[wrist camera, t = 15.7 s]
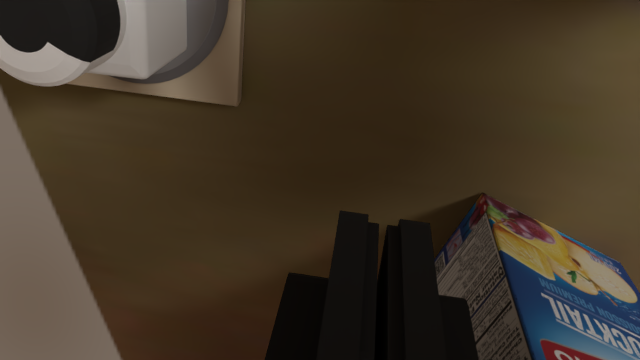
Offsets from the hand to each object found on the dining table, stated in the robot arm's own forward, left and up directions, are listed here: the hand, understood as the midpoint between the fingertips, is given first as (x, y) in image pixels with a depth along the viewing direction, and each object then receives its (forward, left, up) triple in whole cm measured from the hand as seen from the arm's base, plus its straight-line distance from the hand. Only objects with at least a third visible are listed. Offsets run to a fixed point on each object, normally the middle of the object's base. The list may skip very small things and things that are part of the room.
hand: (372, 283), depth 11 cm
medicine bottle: (+16, 0, -27) cm, 31 cm away
